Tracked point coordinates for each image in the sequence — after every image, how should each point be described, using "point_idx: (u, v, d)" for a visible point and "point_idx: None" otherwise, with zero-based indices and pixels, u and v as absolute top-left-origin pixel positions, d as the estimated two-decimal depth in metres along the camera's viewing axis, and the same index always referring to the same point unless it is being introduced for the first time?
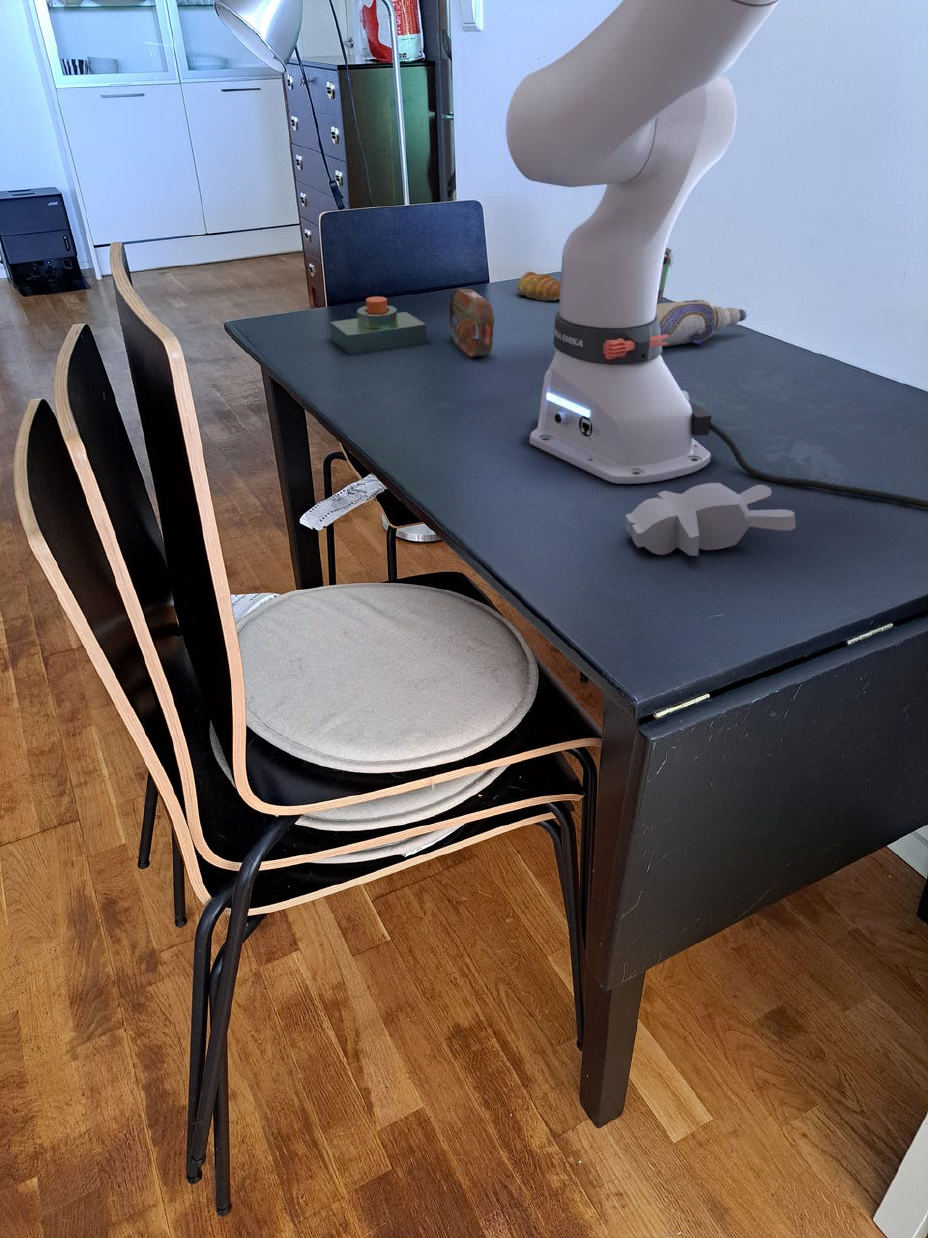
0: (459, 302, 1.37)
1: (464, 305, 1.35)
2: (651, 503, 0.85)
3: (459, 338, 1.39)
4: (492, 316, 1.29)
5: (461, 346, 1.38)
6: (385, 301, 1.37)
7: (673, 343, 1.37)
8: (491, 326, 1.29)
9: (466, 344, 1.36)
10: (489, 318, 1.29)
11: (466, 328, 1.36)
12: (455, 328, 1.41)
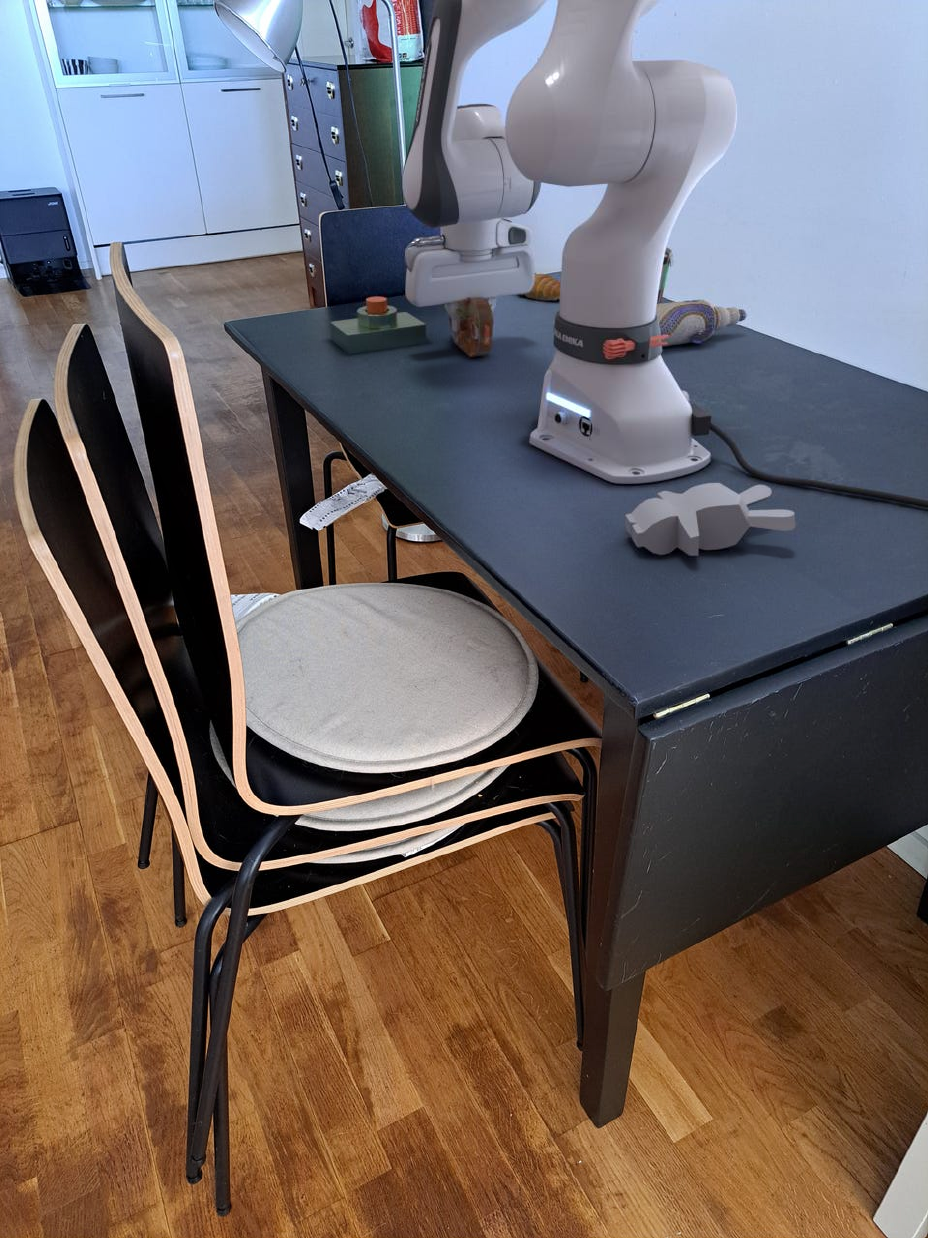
0: None
1: (463, 305, 1.35)
2: (651, 503, 0.85)
3: (459, 338, 1.39)
4: (491, 316, 1.29)
5: (461, 346, 1.38)
6: (385, 301, 1.37)
7: (673, 343, 1.37)
8: (490, 326, 1.29)
9: (466, 343, 1.36)
10: (488, 318, 1.29)
11: (465, 328, 1.36)
12: None
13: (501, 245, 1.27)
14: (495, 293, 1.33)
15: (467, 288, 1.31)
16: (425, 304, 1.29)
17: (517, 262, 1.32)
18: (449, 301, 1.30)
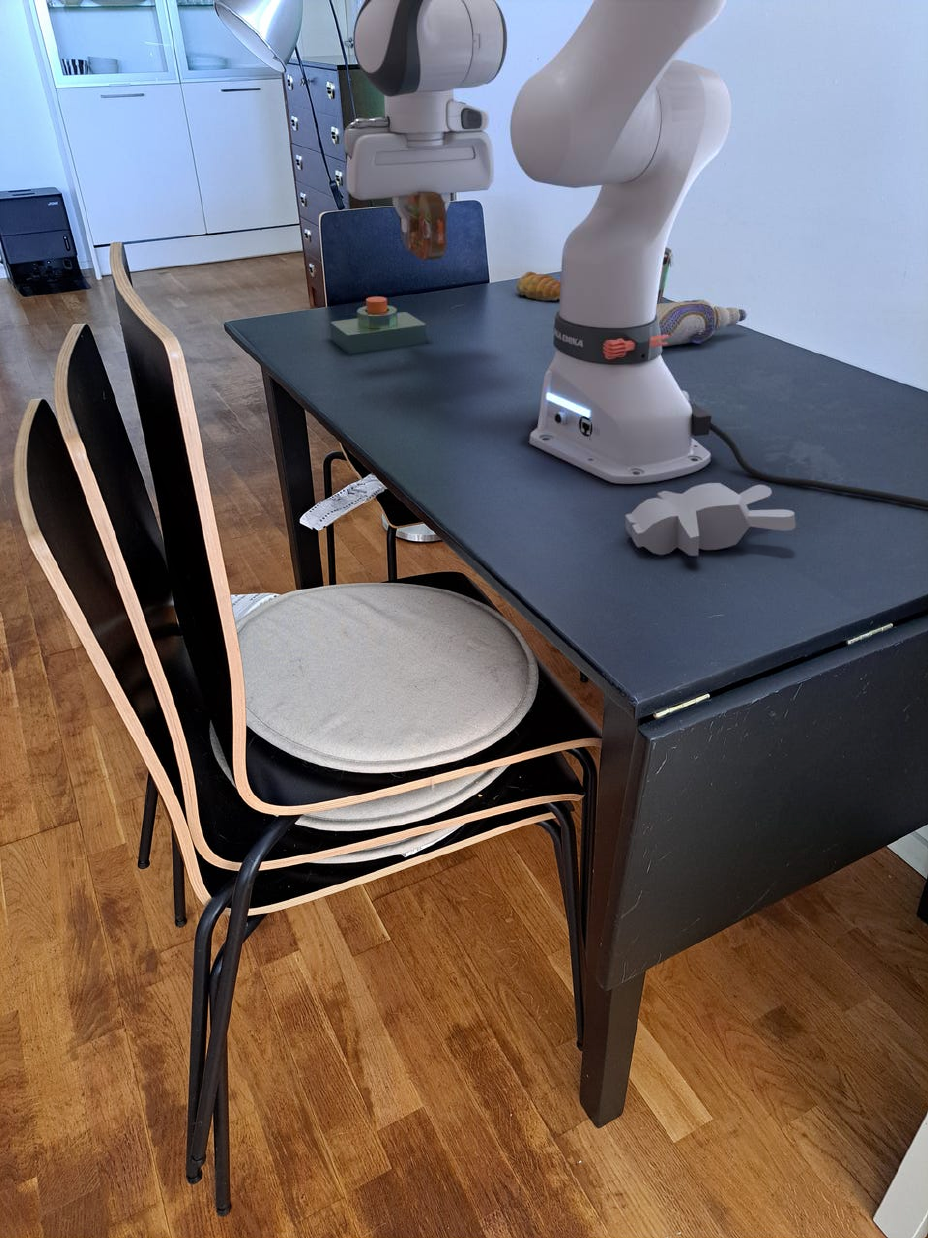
0: (408, 201, 1.23)
1: (414, 203, 1.21)
2: (651, 503, 0.85)
3: (411, 243, 1.25)
4: (444, 209, 1.15)
5: (414, 251, 1.24)
6: (385, 301, 1.37)
7: (673, 343, 1.37)
8: (443, 221, 1.15)
9: (418, 247, 1.22)
10: (441, 212, 1.15)
11: (417, 229, 1.21)
12: (406, 233, 1.26)
13: (453, 128, 1.13)
14: (449, 188, 1.19)
15: (416, 180, 1.16)
16: (368, 196, 1.15)
17: (473, 153, 1.18)
18: (396, 194, 1.16)
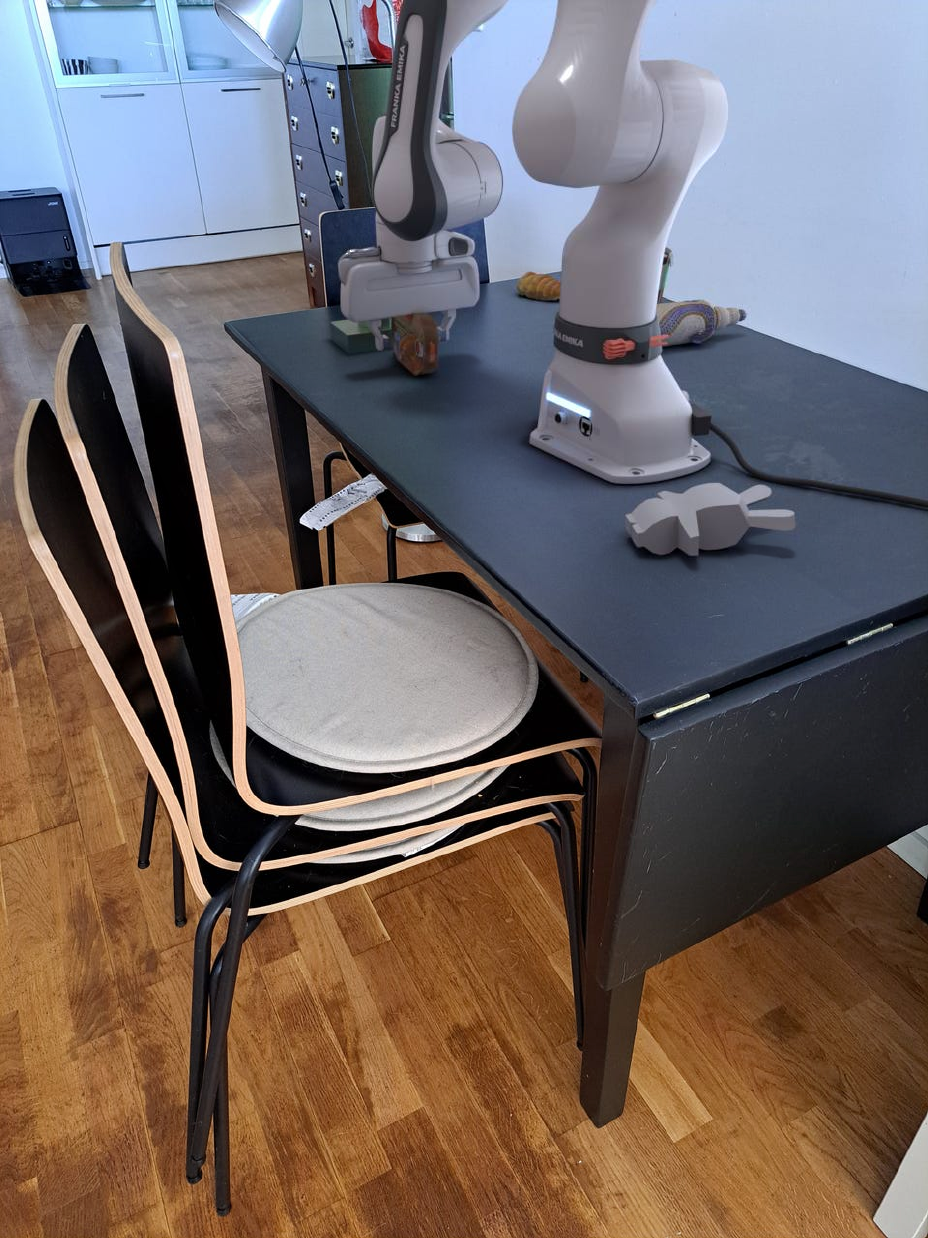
0: (400, 317, 1.30)
1: (406, 321, 1.28)
2: (651, 503, 0.85)
3: (402, 355, 1.32)
4: (436, 332, 1.23)
5: (405, 363, 1.31)
6: None
7: (673, 343, 1.37)
8: (436, 343, 1.23)
9: (410, 361, 1.29)
10: (433, 335, 1.22)
11: (409, 345, 1.29)
12: (397, 345, 1.34)
13: (441, 257, 1.20)
14: (437, 307, 1.26)
15: (406, 302, 1.23)
16: (361, 319, 1.22)
17: (460, 274, 1.25)
18: (387, 316, 1.23)
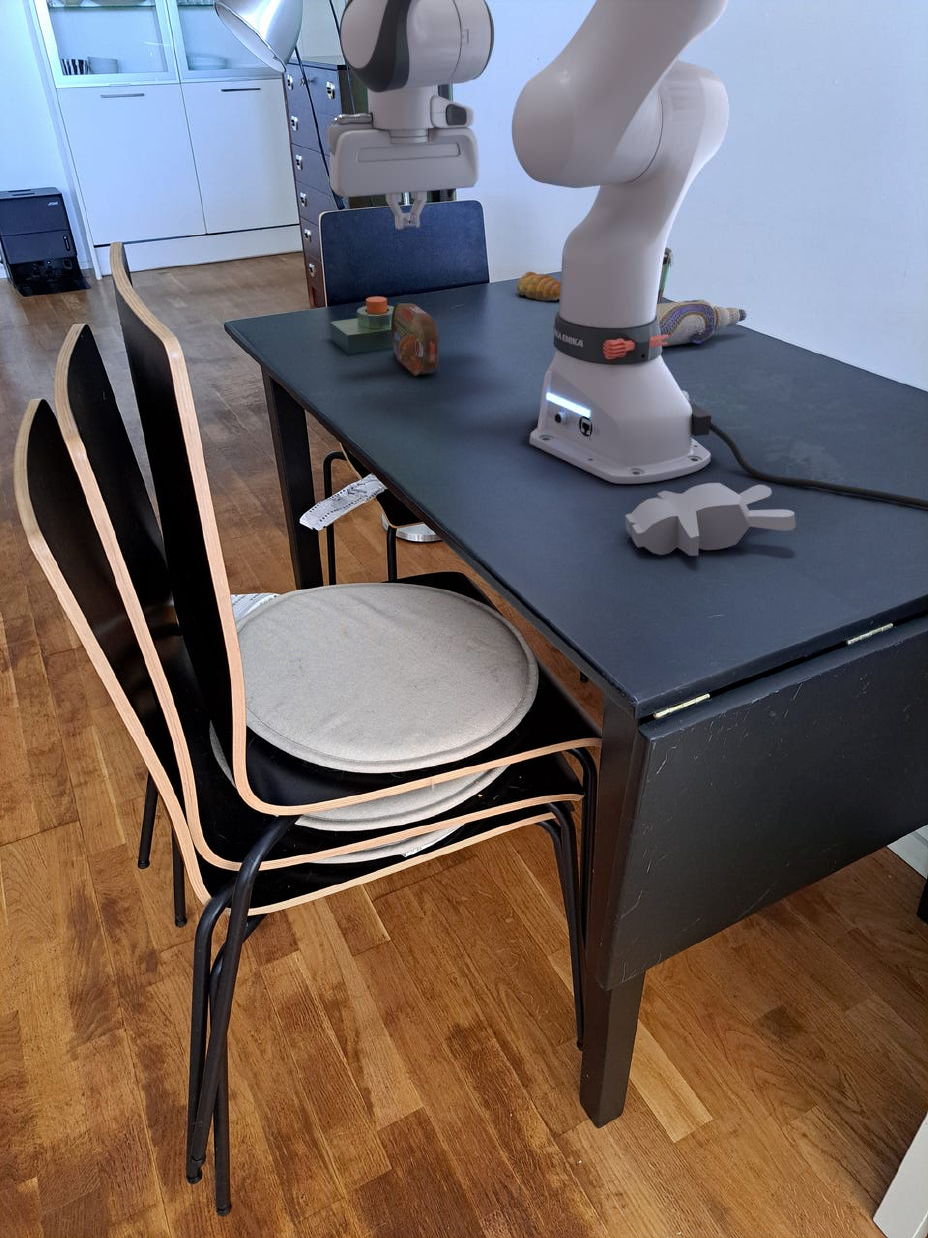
0: (401, 317, 1.30)
1: (406, 321, 1.28)
2: (651, 503, 0.85)
3: (402, 355, 1.32)
4: (436, 332, 1.23)
5: (405, 363, 1.31)
6: (385, 301, 1.37)
7: (673, 343, 1.37)
8: (436, 343, 1.23)
9: (410, 361, 1.29)
10: (433, 335, 1.22)
11: (409, 345, 1.29)
12: (397, 345, 1.34)
13: (437, 125, 1.12)
14: (433, 185, 1.17)
15: (400, 177, 1.15)
16: (351, 194, 1.13)
17: (458, 149, 1.16)
18: (380, 192, 1.15)
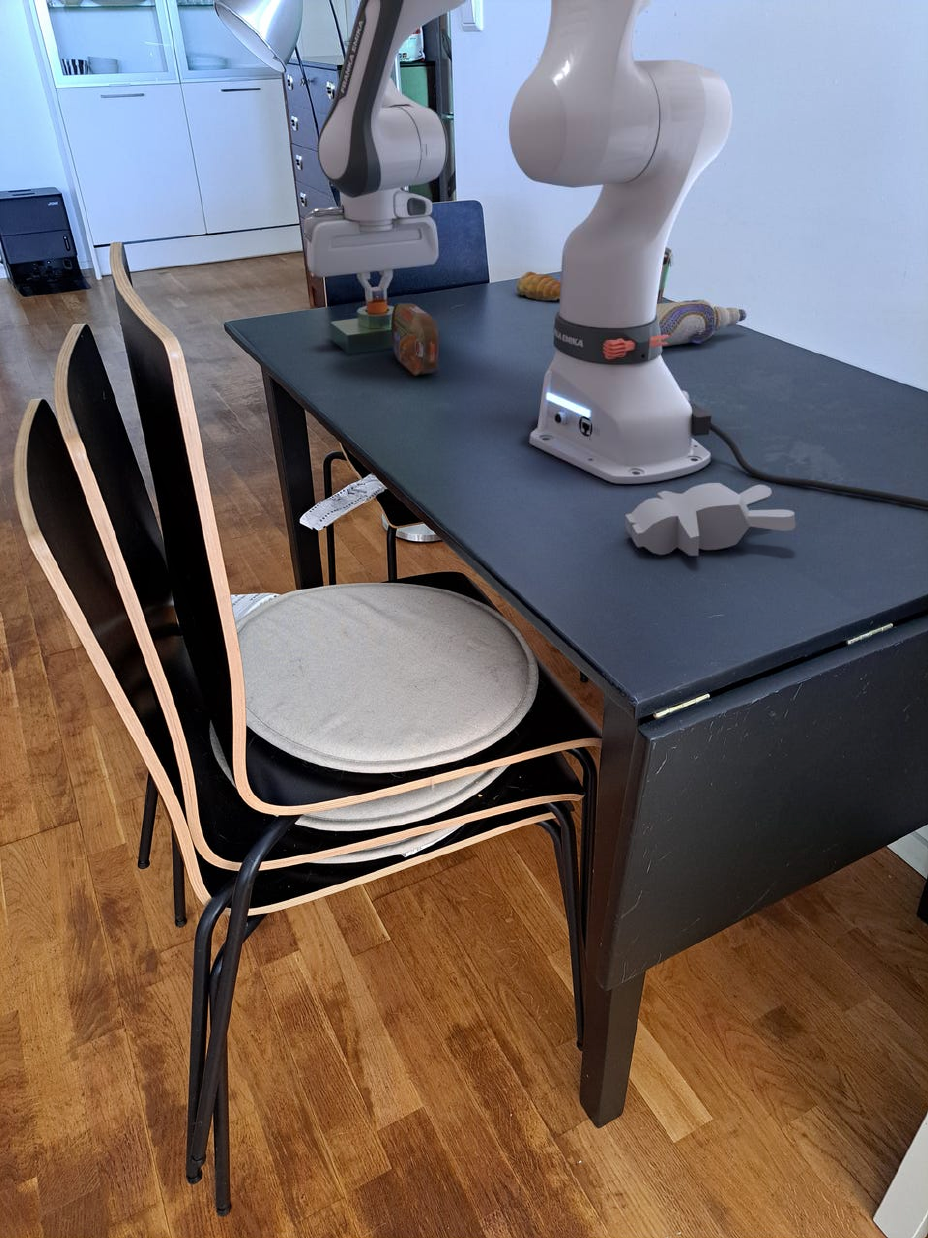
0: (401, 317, 1.30)
1: (406, 321, 1.28)
2: (651, 503, 0.85)
3: (402, 355, 1.32)
4: (436, 332, 1.23)
5: (405, 363, 1.31)
6: (385, 303, 1.37)
7: (673, 343, 1.37)
8: (436, 343, 1.23)
9: (410, 361, 1.29)
10: (433, 335, 1.22)
11: (409, 345, 1.29)
12: (397, 345, 1.34)
13: (400, 216, 1.29)
14: (398, 264, 1.34)
15: (369, 259, 1.32)
16: (326, 274, 1.31)
17: (419, 234, 1.34)
18: (351, 272, 1.32)
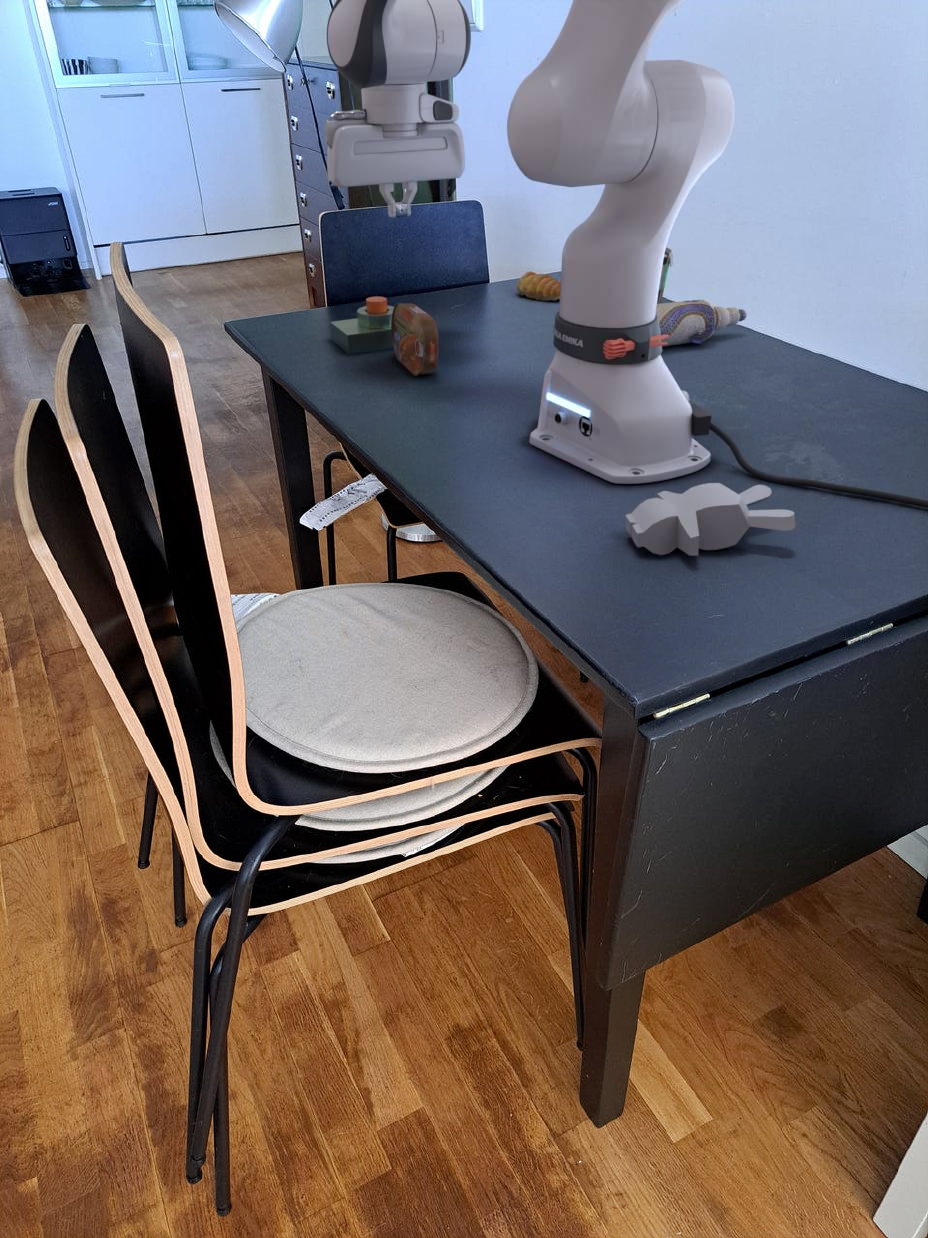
0: (401, 317, 1.30)
1: (406, 321, 1.28)
2: (651, 503, 0.85)
3: (402, 355, 1.32)
4: (436, 332, 1.23)
5: (405, 363, 1.31)
6: (385, 301, 1.37)
7: (673, 343, 1.37)
8: (436, 343, 1.23)
9: (410, 361, 1.29)
10: (433, 335, 1.22)
11: (409, 345, 1.29)
12: (397, 345, 1.34)
13: (426, 120, 1.22)
14: (423, 176, 1.27)
15: (392, 169, 1.25)
16: (347, 184, 1.23)
17: (445, 143, 1.27)
18: (373, 182, 1.25)
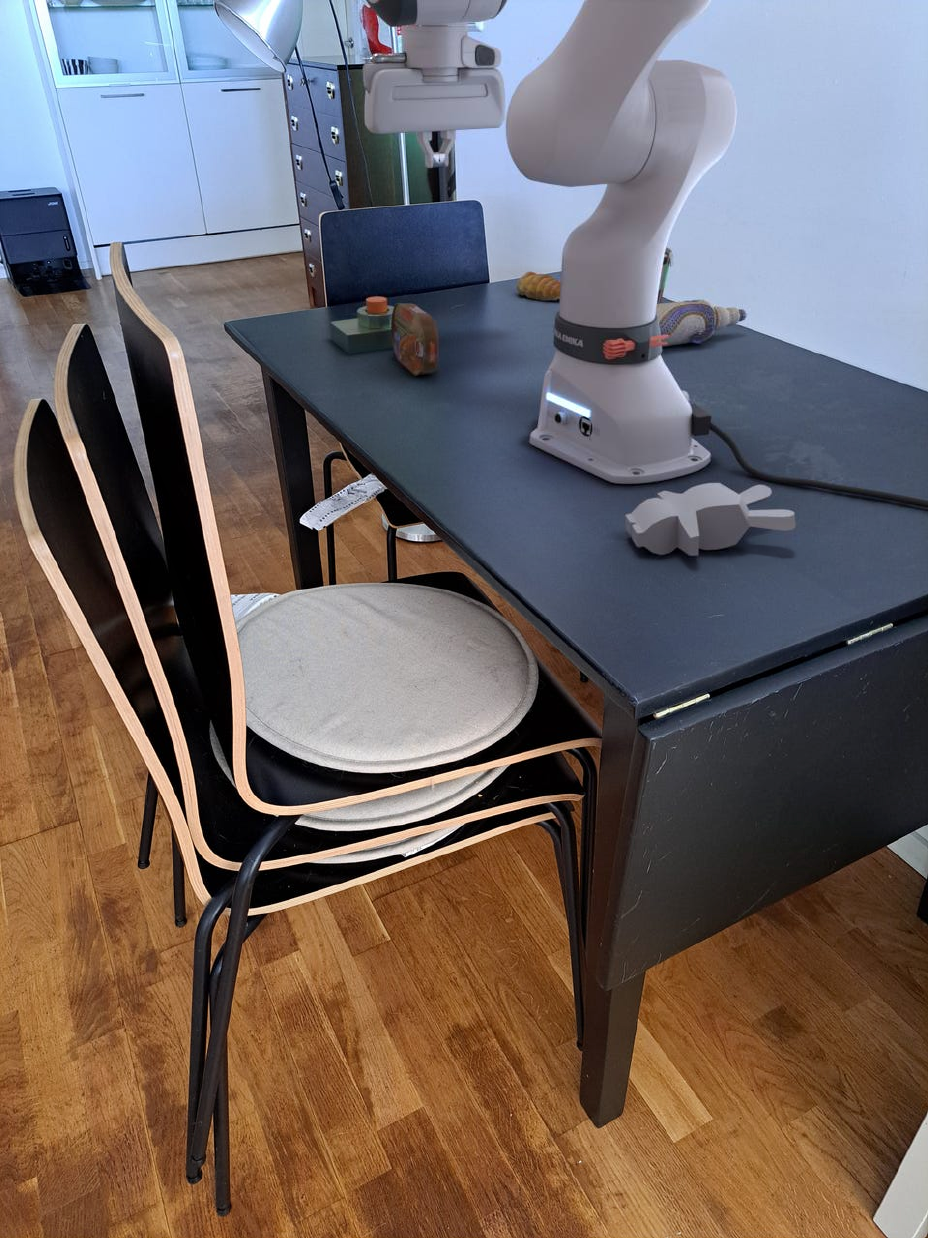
0: (401, 317, 1.30)
1: (406, 321, 1.28)
2: (651, 503, 0.85)
3: (402, 355, 1.32)
4: (436, 332, 1.23)
5: (405, 363, 1.31)
6: (385, 301, 1.37)
7: (673, 343, 1.37)
8: (436, 343, 1.23)
9: (410, 361, 1.29)
10: (433, 335, 1.22)
11: (409, 345, 1.29)
12: (397, 345, 1.34)
13: (467, 64, 1.18)
14: (462, 124, 1.23)
15: (431, 116, 1.21)
16: (385, 130, 1.19)
17: (486, 90, 1.23)
18: (412, 129, 1.21)
